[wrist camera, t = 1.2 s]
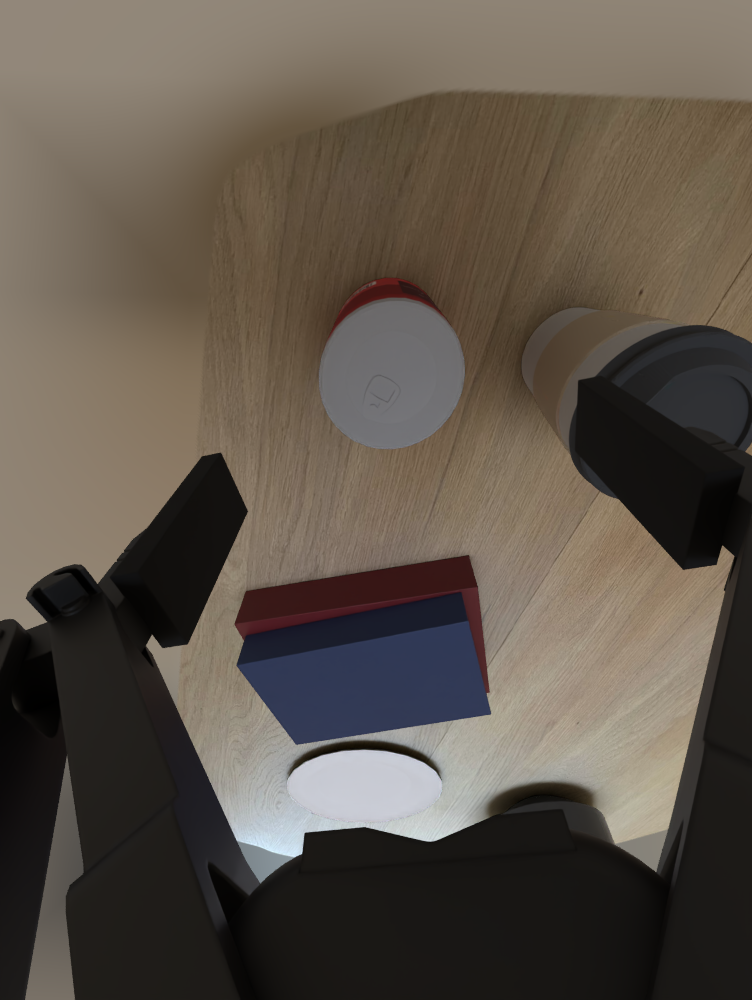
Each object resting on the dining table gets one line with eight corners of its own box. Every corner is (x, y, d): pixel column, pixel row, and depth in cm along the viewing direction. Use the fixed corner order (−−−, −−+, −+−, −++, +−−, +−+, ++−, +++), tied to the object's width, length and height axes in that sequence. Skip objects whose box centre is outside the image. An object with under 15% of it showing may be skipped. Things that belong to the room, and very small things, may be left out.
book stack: (245, 591, 45) (223, 654, 39) (468, 555, 43) (486, 616, 36) (294, 683, 54) (283, 747, 48) (481, 658, 52) (497, 723, 45)
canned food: (325, 375, 33) (305, 434, 23) (348, 261, 28) (334, 278, 19) (419, 399, 34) (436, 464, 24) (454, 293, 29) (490, 323, 20)
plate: (256, 765, 66) (253, 777, 65) (397, 722, 59) (398, 735, 58) (340, 823, 78) (339, 834, 77) (465, 793, 71) (467, 804, 70)
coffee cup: (656, 328, 31) (849, 399, 18) (572, 430, 35) (681, 543, 23) (559, 264, 29) (704, 294, 16) (482, 382, 33) (549, 478, 20)
